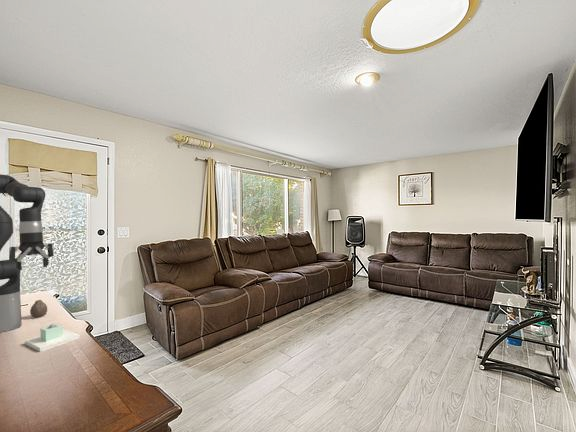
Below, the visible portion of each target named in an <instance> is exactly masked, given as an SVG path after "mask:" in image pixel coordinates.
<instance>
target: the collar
mask: <svg viewBox="0 0 576 432" xmlns="http://www.w3.org/2000/svg"><path fill="white" fill-rule="evenodd" d="M53 324H54V325H55V327H53V328H50V329H49V326H50V325H47V326H44V327H41V328H40V330H39V331H40V336H41V340H44V341H46V342H47V341H50V340H53V339H56V338H59V337H62V336H63V329H64V327H63V325H62V324H59V323H53Z"/></svg>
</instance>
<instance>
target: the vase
mask: <svg viewBox="0 0 576 432" xmlns="http://www.w3.org/2000/svg"><path fill="white" fill-rule="evenodd" d="M29 311H30V312H29V314H30V316H31V317H32V318H34V319H39V318H42V317H45V316H46V315H47V312H48V306H47V304H46V303H45V302H43V300H42V299H38V300H35V302H34V304H32V306H30V310H29Z"/></svg>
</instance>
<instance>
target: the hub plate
mask: <svg viewBox="0 0 576 432" xmlns="http://www.w3.org/2000/svg"><path fill="white" fill-rule="evenodd" d="M54 324H55V323H53V324H49V325H48V326H49V329H50V328H53V327H55V325H54ZM79 339H80V334H79V333H76V332H72V331H70V330H68V329H65V328H63V336H62V337H59V338H56V339H53V340H50V341H47V342H46V341H44V340H41V335H38V336H34V337H32V338H28V339H25V340H24V344H25V345H26V346H28V347H30V348H32V349H34V350H36V351H38V352H40V353H42V352H44V351H47V350H49V349H52V348H56V347H58V346H61V345H65V344H68V343H70V342H73V341H77V340H79Z"/></svg>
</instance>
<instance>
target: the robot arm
mask: <svg viewBox="0 0 576 432" xmlns="http://www.w3.org/2000/svg"><path fill="white" fill-rule="evenodd" d="M0 194H7V195H8V196H10V197H12V198H13V201H15V202H17V203H29V204H30V203H33V204H32V206H30V207H22V208H20V209H19V214H18V216H19V225H18V230H19V233H18V234H19V245H18V246H10V247H9V253H8V254H9V255H8V256H9V257H8V258H9V259H3V260H0V281H3V280H7V282H5V283H4V284H1V285H0V333H2V332H8V331H12V330H16V329H18V328H20V327H22V303H21V272H22V271H23V268H22V267H23V265H22V260H23V259H24V258H25V257H26V256H32V255H39V256H41V257H42V266H43V267H44V268H48V266H49V263H50V262H49V259H50V258H51V257H54V246H53V243H45V244H44V235H43V233H44V232H43V231H44V230H43V223H42V209H43V207H44V206H43V205H44V202H45V199H46V191H45V190H44V189H43V188H42V187H41V186H28V184H24V183H21V182H19V181H18V180H17V179H15V177H13V176H10V175H8V174H0ZM13 223H14V222H13V218H12V216H11V215H10V214H9V213H8V212H7V211H6V210H5V208H4V207H2V206H1V205H0V252H1V251H2V250H3V248H4V247H5V246H6V244H7V242H8V241H9V240H10V239H11V237H12V235H13V234H14V224H13ZM44 248H45V249H47V253H46V252H45V251H44V250H43V249H44ZM18 250H19V251H20V252H19V254H18V256H17V257H16V252H18Z"/></svg>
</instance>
